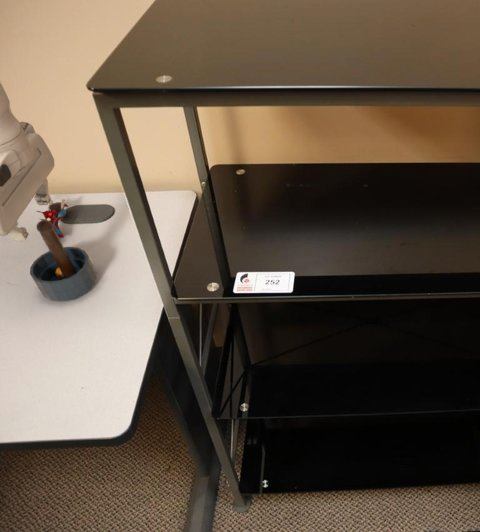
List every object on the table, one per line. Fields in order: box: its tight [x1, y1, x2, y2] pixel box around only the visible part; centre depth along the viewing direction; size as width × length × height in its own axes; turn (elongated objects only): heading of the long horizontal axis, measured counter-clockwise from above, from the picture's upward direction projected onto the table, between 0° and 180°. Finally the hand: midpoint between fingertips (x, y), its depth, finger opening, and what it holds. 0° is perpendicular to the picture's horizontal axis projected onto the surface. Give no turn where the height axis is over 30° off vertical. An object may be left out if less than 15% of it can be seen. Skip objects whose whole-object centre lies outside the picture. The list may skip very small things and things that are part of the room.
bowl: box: [29, 246, 98, 302], centre depth 97 cm, size 10×10×6 cm
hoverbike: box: [36, 198, 69, 239], centre depth 108 cm, size 5×12×6 cm, turn 17°
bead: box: [55, 267, 65, 279], centre depth 99 cm, size 2×2×2 cm
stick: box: [36, 220, 77, 278], centre depth 93 cm, size 2×2×15 cm
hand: (34, 220), depth 88 cm, fingers open, 8 cm apart
